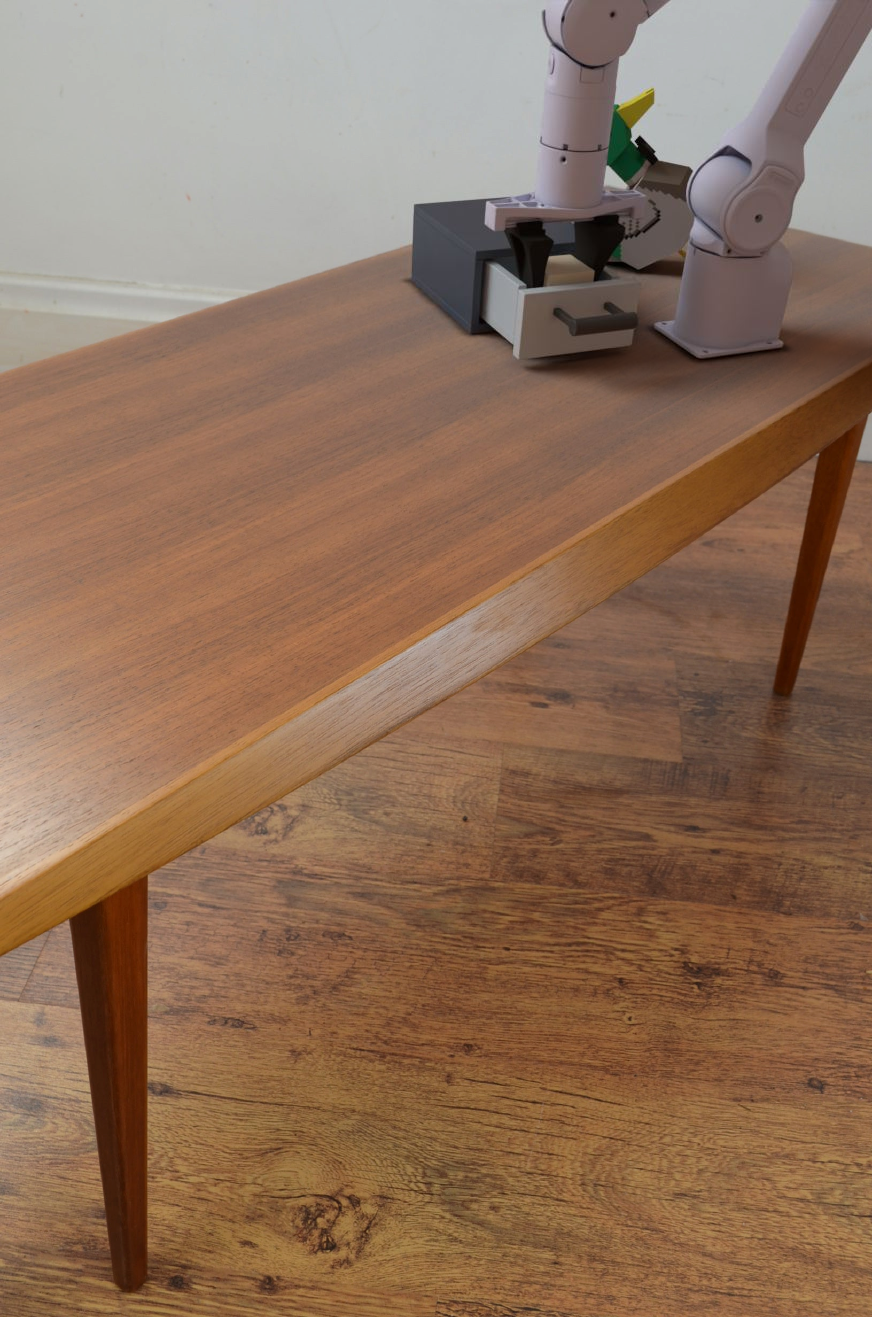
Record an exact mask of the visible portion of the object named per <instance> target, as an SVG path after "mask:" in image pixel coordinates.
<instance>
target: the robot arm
mask: <svg viewBox="0 0 872 1317" xmlns="http://www.w3.org/2000/svg"><path fill="white" fill-rule="evenodd" d="M670 1H671V0H549V1H547V3H546V7H545V9H543V10H541V25H542V30H543V32H544V35H545V37H546V39H547V40H548V42H549V43H550V45H549V52H548V61H547V62H548V63H547V73H546V78H545V81H544V90H543V91H544V92H543V100H542V101H543V102H542V103H543V104H542V114H541V121H540V122H541V124H540V133H539V145H538V157H537V167H536V177H535V188H534V191H533V192H528V193H524V194H519V195H515V196H509V197H510V198H506V199H501V200H495V201H487V202H486V211H485V225H486V226H488V227H489V228H490V229H492V230H493V231H504V232H505V235H506V237H507V239H508V242H509V244H510V247H511V249H512V252H513V255H514V259H515V262H516V266H517V270H518V275H519V280H521V281H522V282H523V283H524V284H526V285H527V287H526V289H531V288H540V287H543V282H544V275H545V270H546V266H547V262H548V258H549V255H550V252H551V249H552V246H553V244H554V241H553V240H552V239H551V238H550V237H548V236H547V235H545V232H546V230H545V229H543V225H544V224H555V223H567V222H572V223H573V224H574V230H575V258H576V259H578V260H579V261H581V262H582V263H584V264H585V265H587V266H588V267H590V268H591V269H593V270H594V271H595V272H594V280H593V282H596V281H598V280H599V278H600V275H601V273H602V271H603V269H604V267H605V266H607V264H608V262H609V261H608V260H609V259H610V257H611V255H612V254H613V252H614V251H615V250H616V248H617V247H618V246H619V244H620V243H621V242H622V241H623V239H624V236H625V229H626V228H625V227H624V226H623V225H621V224H620V223H619V218H626V217H630V218H631V219H643V218H644V212H645V205H646V199H647V196H645V195H644V194H642V193H640V192H638V191H636V190H625V189H624V190H617V189H616V190H613V189H604V186H605V178H606V170H607V166H606V164H607V156H608V148H609V140H610V132H611V125H612V117H613V109H614V104H615V102H616V93H617V79H618V72H619V65H620V64H619V63H620V57H622V56H624V55H625V54H627V52H628V51H629V50H630V48H631V46H632V44H633V42H634V40H635V37H636V34H637V30H638V26H639V25H642V24H644V23H645V22H647V21H648V19H650V18H651V17H652V16H654V15H655V14H656V13H657V12H658V11H659V10H661V9H662V8H663V7H664V6H666V5H667V4H668V3H669V2H670ZM871 30H872V0H810V1H809V3H808V5H807V6H806V8H805V10H804V12H803V14H802V16H801V18H800V19H799V21H798V23H797V25H796V27H795V28H794V31H793V32H792V34H791V36H790V38H789V39H788V41H787V44H786V46H785V47H784V49H783V51H782V52H781V54H780V56H779V58H778V60H777V62H776V63H775V65H774V67H773V69H772V71H771V73H770V75H769V76H768V78H767V80H766V82H765V84H764V86H763V88H762V89H761V91H760V93H759V95H758V97H757V99H756V100H755V102H754V104H753V106H752V107H751V110H750V111H749V113H748V115H747V116H746V117H745V118H743V119H742V120H741V121H740V122H738V123H736V124H735V125H733V126H731V128H729V129H728V130H727V131H726V132H724V134H723V135H722V137H721V139H720V141H719V142H718V144H717V146H716V147H715V148H714V150H713V151H712V152H711V153H710V154H708V156H706V157H705V158H704V159H703V160H701V161H700V162H699V163H698V164H697V165H696V167H695V168H694V169H693V173H692V174H691V176H690V179H689V181H688V185H687V189H686V199H687V204H688V207H689V209H690V211H691V213H692V214H693V215H694V216H695V218H694V224H693V227H692V229H691V232H690V236H689V240H688V241H687V242H688V243H687V247H686V252H685V253H686V259H684V265H683V271H682V276H681V282H680V286H679V287H680V288H679V292H678V297H677V298H678V299H677V305H676V309H675V316H674V319H673V320H666V321H665V320H664V321H657V322H655V323H654V325H653V328H654V329H655V330H656V331H658V332H659V333H661V334H662V335H664V336H665V337H666V338H668V339H669V340H670V341H672V342H674V343H675V344H677V345H678V346H679V347H681V348H682V349H683V350H685V351H687V352H688V353H689V354H691V355H693V357H696V358H697V359H708V358H716V357H723V356H730V355H739V354H747V353H753V352H760V351H767V350H773V349H774V350H775V349H781V348H783V346H784V341H783V340H781V339H780V334H781V330H782V325H783V321H784V318H785V312H786V308H787V305H788V300H789V295H790V292H791V287H792V283H793V278H794V277H793V276H794V274H793V273H794V266H793V260H792V256H791V255H792V254H791V252H790V251H789V249H788V248H787V246H786V245H785V244H784V243H783V242H781V241H780V240H781V239H782V237H783V236H784V235H785V233H786V231H787V230H788V228H789V226H790V224H791V221H792V218H793V211H794V203H795V200H796V197H797V195H798V193H799V190H800V189H801V187H802V185H803V184H804V181H805V177H806V171H805V170H806V169H805V153H804V151H805V150H804V149H805V146H806V144H807V142H808V141H809V139H810V137H811V135H812V134H813V132H814V130H815V128H816V126H817V125H818V123H819V122H820V119H821V118H822V117H823V114H824V112H825V111H826V109H827V107H828V105H829V103H830V102H831V100H832V99H833V97H834V95H835V94H836V91H837V90H838V89H839V86H840V84H841V83H842V81H843V80H844V78H845V76H846V74H847V73H848V71H849V69H850V67H851V65H852V64H853V62H854V60H855V59H856V57H857V55H858V53H859V52H860V50H861V49H862V47H863V45H864V43H865V41H866V40H867V38H868V36H869V34H870V33H871Z"/></svg>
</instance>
